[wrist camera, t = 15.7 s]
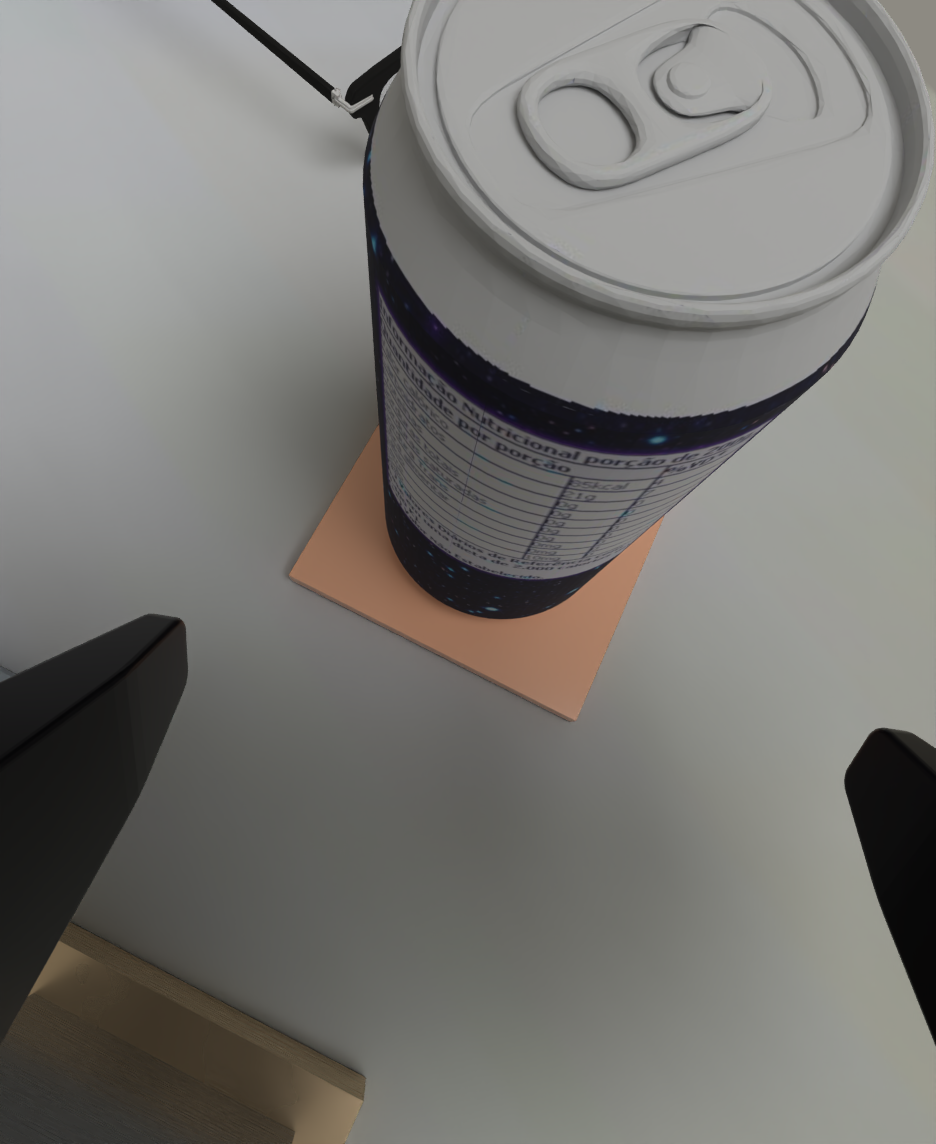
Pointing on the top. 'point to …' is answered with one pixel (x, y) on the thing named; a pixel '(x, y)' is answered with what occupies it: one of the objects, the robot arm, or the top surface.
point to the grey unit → (157, 1063)
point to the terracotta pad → (481, 645)
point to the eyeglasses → (359, 95)
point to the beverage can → (615, 261)
